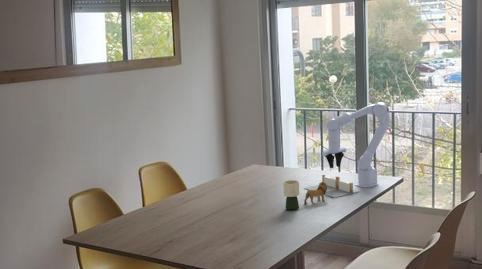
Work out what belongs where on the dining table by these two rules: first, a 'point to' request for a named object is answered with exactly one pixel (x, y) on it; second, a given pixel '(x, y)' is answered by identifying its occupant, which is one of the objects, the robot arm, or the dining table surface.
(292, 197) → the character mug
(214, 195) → the dining table surface
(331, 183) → the hinged fence panel
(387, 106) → the robot arm
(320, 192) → the lion figurine
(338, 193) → the card
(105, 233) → the dining table surface
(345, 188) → the fixed fence panel
